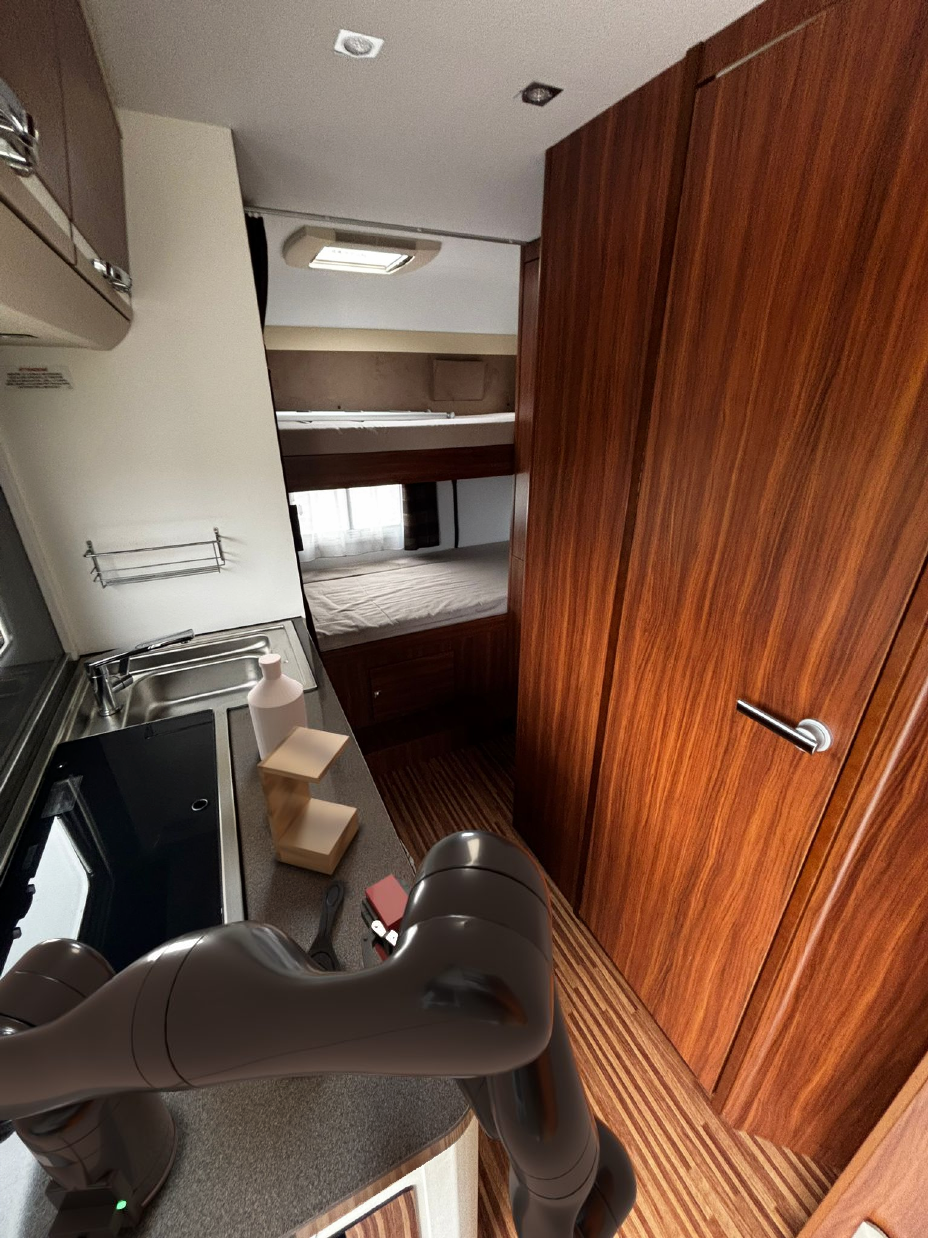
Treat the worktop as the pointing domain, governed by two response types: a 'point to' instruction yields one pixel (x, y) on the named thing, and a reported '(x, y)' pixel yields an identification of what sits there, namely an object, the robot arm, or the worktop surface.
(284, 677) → the bottle
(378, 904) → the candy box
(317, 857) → the shelf unit
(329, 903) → the hairbrush
